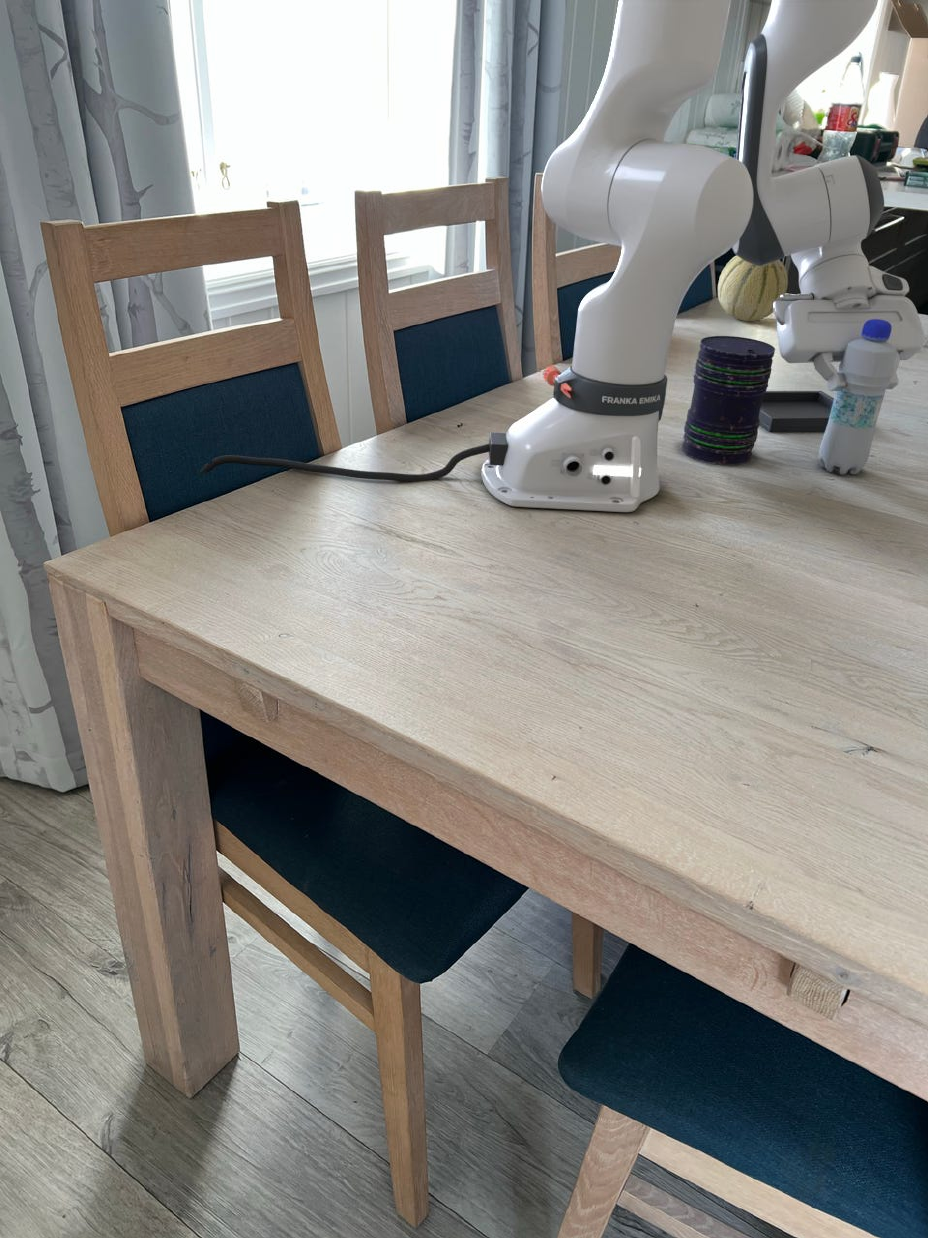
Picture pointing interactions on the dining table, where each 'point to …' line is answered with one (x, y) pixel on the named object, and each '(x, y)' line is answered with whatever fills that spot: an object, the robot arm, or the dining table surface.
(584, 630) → the dining table surface
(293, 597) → the dining table surface
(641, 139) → the robot arm
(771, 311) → the cantaloupe
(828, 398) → the tray
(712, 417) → the navy striped cylinder
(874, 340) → the bottle
